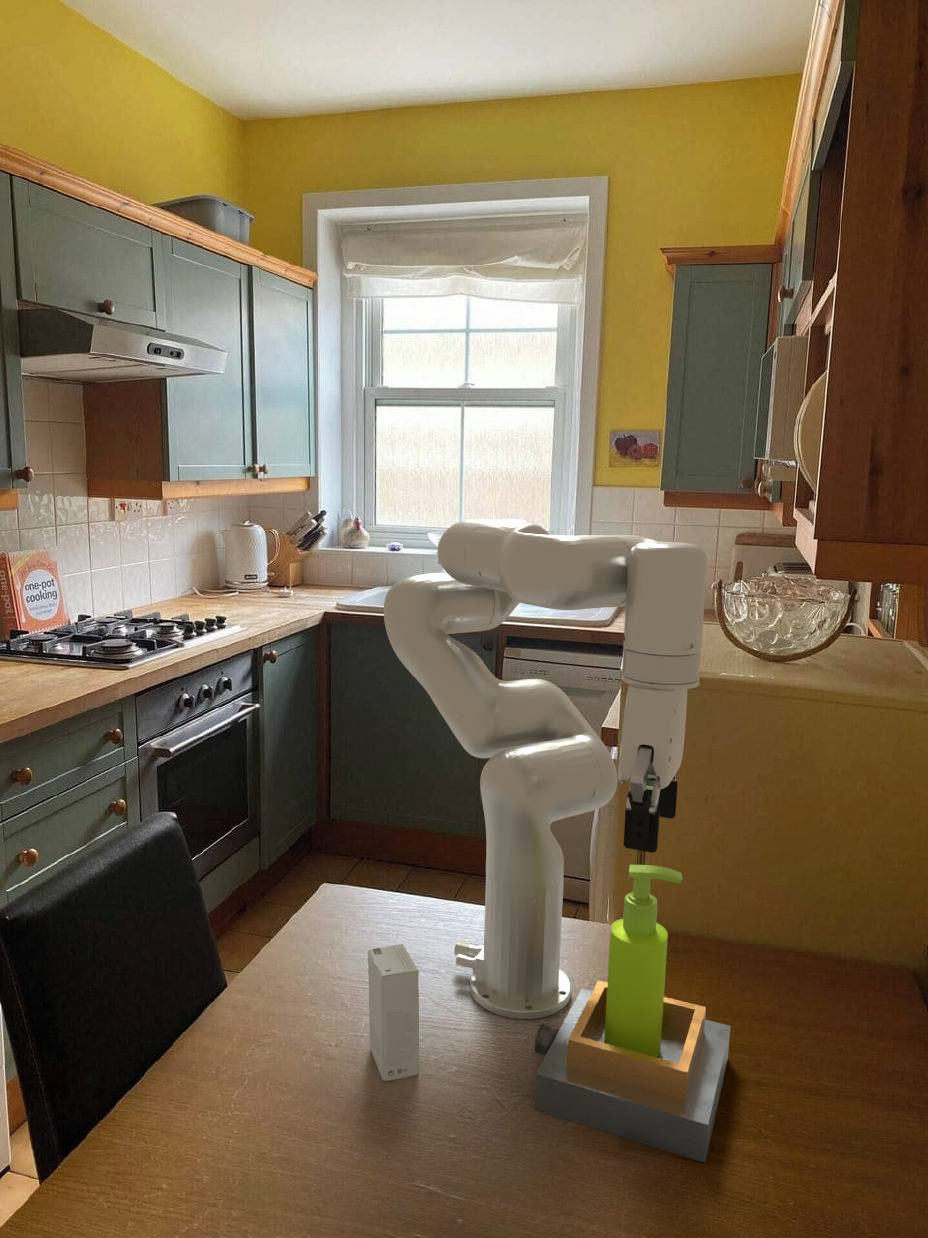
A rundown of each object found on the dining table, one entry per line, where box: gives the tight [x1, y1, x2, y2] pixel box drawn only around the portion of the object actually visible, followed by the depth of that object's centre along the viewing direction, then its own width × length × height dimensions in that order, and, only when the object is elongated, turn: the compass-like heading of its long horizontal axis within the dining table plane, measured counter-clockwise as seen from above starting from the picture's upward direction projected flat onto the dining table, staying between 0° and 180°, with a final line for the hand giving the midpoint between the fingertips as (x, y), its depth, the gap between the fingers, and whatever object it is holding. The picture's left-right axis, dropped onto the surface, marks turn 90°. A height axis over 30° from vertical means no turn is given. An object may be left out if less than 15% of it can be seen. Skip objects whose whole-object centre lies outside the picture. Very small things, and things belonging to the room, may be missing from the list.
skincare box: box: [367, 943, 420, 1082], centre depth 96 cm, size 6×4×12 cm
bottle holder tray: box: [533, 980, 731, 1164], centre depth 95 cm, size 19×17×7 cm
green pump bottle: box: [604, 864, 683, 1057], centre depth 93 cm, size 6×7×20 cm
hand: (650, 831), depth 91 cm, fingers open, 9 cm apart
